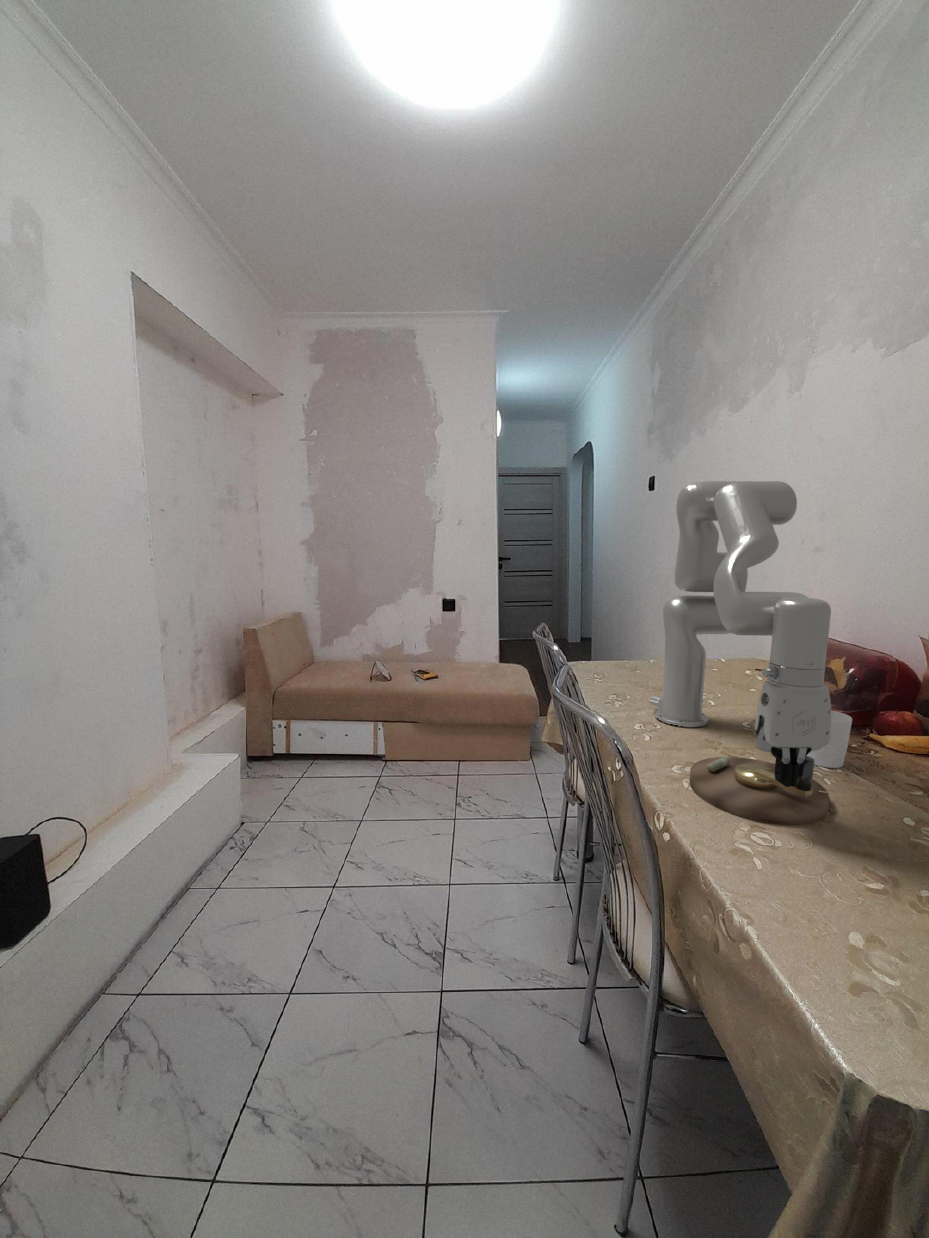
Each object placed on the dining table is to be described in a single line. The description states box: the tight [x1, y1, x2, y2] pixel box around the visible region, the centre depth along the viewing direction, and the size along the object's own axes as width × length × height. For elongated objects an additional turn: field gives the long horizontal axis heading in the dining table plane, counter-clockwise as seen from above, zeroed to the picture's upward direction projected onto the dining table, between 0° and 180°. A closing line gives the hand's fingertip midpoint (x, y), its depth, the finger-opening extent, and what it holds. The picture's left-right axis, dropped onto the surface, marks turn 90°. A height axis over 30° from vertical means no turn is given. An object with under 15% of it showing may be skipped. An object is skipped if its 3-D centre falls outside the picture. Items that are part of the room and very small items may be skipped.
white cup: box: [806, 710, 853, 769], centre depth 108 cm, size 8×8×10 cm
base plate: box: [689, 756, 830, 825], centre depth 96 cm, size 22×22×4 cm
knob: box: [734, 756, 815, 797], centre depth 93 cm, size 13×7×7 cm, turn 29°
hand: (785, 782), depth 87 cm, fingers closed
